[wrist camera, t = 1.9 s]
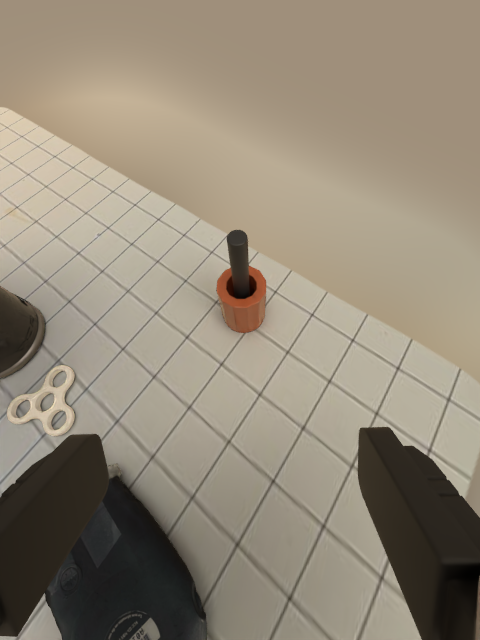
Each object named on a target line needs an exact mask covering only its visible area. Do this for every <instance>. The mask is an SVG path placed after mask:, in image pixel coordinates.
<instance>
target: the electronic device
mask: <svg viewBox="0 0 480 640" xmlns="http://www.w3.org/2000/svg"><path fill="white" fill-rule="evenodd" d="M107 468H108V472H109V484H108V489H107V492H106V494H105V496H104V498H103V500H102V501H101V503H100V505H99V506H98V508H97V509H96V511H95V513H94V514H93V516H92V517H91V519H90V521H89V522H88V524H87V525H86V527H85V529H84V530H83V532H82V533H81V535H80V537H79V538H78V540H77V542H76V543H75V545H74V546H73V548H72V550H71V551H70V553H69V554H68V556H67V558H66V559H65V561H64V562H63V564H62V566H61V567H60V569H59V570H58V572H57V574H56V575H55V577H54V578H53V580H52V582H51V583H50V585H49V586H48V588H47V590H46V591H45V597H46V601H47V604H48V606H49V607H50V608H51V611H52V614H53V616H54V618H55V621H56V624H57V626H58V628H59V630H60V633H61V636H62V640H207V622H206V614H205V612H204V609H203V607H202V605H201V600H200V598H199V595H198V593H197V592H196V588H195V584H194V581H193V579H192V577H191V575H190V572H189V570H188V568H187V567H186V565H185V563H184V562H183V560H182V559H181V557H180V556H179V554H178V553H177V550H176V549H175V548H174V547H173V545H172V543H171V542H170V541H169V539H168V538H167V536H166V534H165V533H164V532H163V531H162V529H161V528H160V526H159V525H158V524H157V522H156V521H155V520H154V518H153V517H152V516H151V515H150V513H149V512H148V510H147V509H146V508H145V507H144V506H143V505H142V503H141V502H140V501H138V500H137V499H135V497H134V496H133V495H132V494H131V492H130V491H129V490H128V488H127V487H126V486H125V484H124V483H123V482H122V481H121V480H120V474H121V470H120V468H119V467H118V464H114V465H110V466H108V467H107Z"/></svg>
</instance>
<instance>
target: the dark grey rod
mask: <svg viewBox="0 0 480 640" xmlns="http://www.w3.org/2000/svg"><path fill="white" fill-rule="evenodd" d="M227 244H228V251H229V259H230V266H231V273H232V280H233V287H234V295H235V298H236V299H246V298H248V297H250V288H249V264H248V239H247V235H246V233H245V232H243V231H241V230H234V231H231V232H230V233H229V234H228V236H227Z"/></svg>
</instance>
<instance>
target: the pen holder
mask: <svg viewBox="0 0 480 640" xmlns="http://www.w3.org/2000/svg"><path fill="white" fill-rule="evenodd" d="M249 288H250V297H248V298H246V299H236V298H235V295H234V287H233V280H232V273H231V268H229V269H227V270H225V271H224V273H223V274H222V275H221V276H220V278H219V279H218V281H217V290H216V291H217V295H218V299H219V303H220V307H221V311H222V315H223V318H224V320H225V323H226V324H227V325H228V327H229V328H231V329H232V330H234V331H236V332H241V333H246V332H251V331H253V330H255V329H257V328H258V327H259V326H260V325H261V323H262V322H263V319H264V316H265V300H266V280H265V278H264V277H263V275H262V274H261V272H260V271H259V270H257V269H255V268H253V267H251V266H249Z"/></svg>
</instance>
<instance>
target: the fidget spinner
mask: <svg viewBox="0 0 480 640" xmlns="http://www.w3.org/2000/svg"><path fill="white" fill-rule="evenodd" d="M61 371H65V372H66V373H67V379H66V381H65V382H64V384H63V385H61V386H60V387H56V388H55V387H54V386H53V379H54V377H55V375H56V374H57V373H59V372H61ZM73 381H74V371H73V370H72V369H71V368H70V367H68V366H65V365H60V366H57V367H55V368H53V369H52V370H51V371H50V372H49V373H48V374H47V376H46V378H45V382H44V384H43V386H42V388H41V389H40V390H39V391H37V392H35V393H33V394H22V395H20V396H18V397H16V398H15V399H14V400H13V401H12V402H11V403H10V405H9V407H8V410H7V417H8V419H9V421H10V422H12V423H14V424H23V423H26V422H28V421H30V420H31V419H35V418H37V419H39V420H41V422H42V424H43V428H44V431H45V432H46V433H47V434H48V435H51V436H60V435H62V434H64V433H66V432H67V431H68V430H69V429H70V428H71V426H72V425H73V422H74V419H75V414H74V411H73V409H72V408H71V407H69V406H68V405H67V404H66V403H65V393H66V391H67V390H68V388H69V387H70V386H71V385H72V383H73ZM51 393H52V394H53V395H54V403H53V405H52V406H51V407H50V408H49V409H48V410H46V411H42V410H41V407H40V405H41V401H42V399H43V398H44V397H45V396H46V395H48V394H51ZM24 400H29V402H30V409H29V411H28V413H27V414H26V415H25V416H23V417H21V418H18V417H17V415H16V409H17V407H18V405H19V404H20V403H21V402H23V401H24ZM59 411H65V413H66V415H67V419H66V422H65V424H64V425H63V426H62V427H61V428H60V429H58V430H54V429H53V427H52V425H51V422H52V419H53V417H54V415H55V414H56V413H58V412H59Z"/></svg>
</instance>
